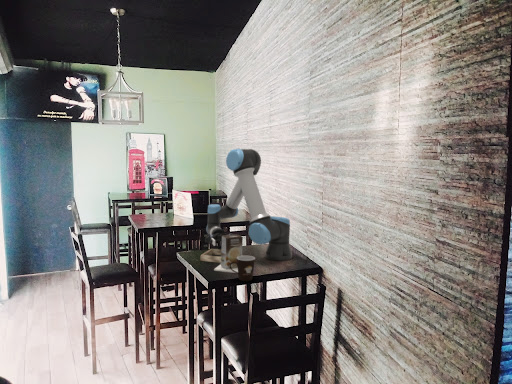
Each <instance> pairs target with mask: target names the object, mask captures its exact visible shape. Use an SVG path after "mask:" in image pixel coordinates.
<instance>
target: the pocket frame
mask: <svg viewBox="0 0 512 384" xmlns="http://www.w3.org/2000/svg"><path fill="white" fill-rule="evenodd" d="M221 250H222V249H218V248H217V249H216V248H210V249H208V250H206V251H205V252H204V253H201V255H200V261H203V262H209V263H219V264H221Z"/></svg>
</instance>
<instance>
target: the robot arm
mask: <svg viewBox="0 0 512 384" xmlns="http://www.w3.org/2000/svg"><path fill="white" fill-rule="evenodd" d="M226 155H227V156H226V158H225V163H226V166H227V168H228V169H229V170H230V171H232V172H233V176H235V177H236V178H238V179H237V181H236V183H235V185H234V187H233V189H232V191H231V193H230V194H229V197H228V198H227V201H226V203H225V205H224V206H221V205H220V204H215V203H214V204H213V203H211V204H208V205H207V225H206V228H205V229H206V230H205V231H206V233H207V236H206V237H205V239H204V242H205V243H208V244H209V245H213V247H215V246H216V242H222V236H223V235H236V234H234V233H232V232H229V233H226V232H225V230H224V229H222V228H221V220H225V219H231V218H232V219H233V218H234V217H237V216H238V214H239V205H240V203H241V202H242V200H243V198H244V200H245V203H246V207H247V209H248V213H249V216H250V220H249V227H248V228H249V229H248V235H249V238H250V240H251V241H252V242H254V243H255V244H257V245H266V244H268V245H267V247H266V250H265V253H264V255H265V256H264V257H265V258H266V259H267V260H271V261H278V262H280V261H289V260H291V259H292V257H293V253H292V250H291V246H290V230H291V229H290V228H291V222H290V221H291V219H289V218H288V217H282V216H271V215H270V214H268V213H267V210H266V208H265V206H264V202H263V199H262V197H261V193H260V190H259V187H258V184H257V180H256V178H255V176H256V175H257V174H258V173H259V171H260V168H261V166H262V165H261V164H262V158H261V155H260V153H259V152H258V151H257V150H255V149H252V148H248V149H247V148H234V149H231V150H230V151H229V152H228V153H227V154H226Z"/></svg>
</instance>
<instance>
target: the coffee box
mask: <svg viewBox="0 0 512 384" xmlns="http://www.w3.org/2000/svg"><path fill="white" fill-rule="evenodd" d="M243 241H244V236H242V235H239V234H235V235H223V236H222V241H221V249H220V250H221V255H220V257H221V263H220V264H221V266H222V267H223V268H224V269H230V263H232V262H237V257H238V256H243V246H244V245H243ZM231 268H232V269H233V268H238V266H237V264H236V263H233V264H231Z"/></svg>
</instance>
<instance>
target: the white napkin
mask: <svg viewBox="0 0 512 384" xmlns="http://www.w3.org/2000/svg"><path fill="white" fill-rule="evenodd" d="M232 270H234V271H236V272H238V268H233V269H232ZM232 270H231V269H224V268H223V267H222V266H221V263H219V265H218V266H216V267H215V268H214V269H213V271H215V272H223V273H233V274H234V273H235V272H233V271H232ZM235 274H236V273H235Z"/></svg>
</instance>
